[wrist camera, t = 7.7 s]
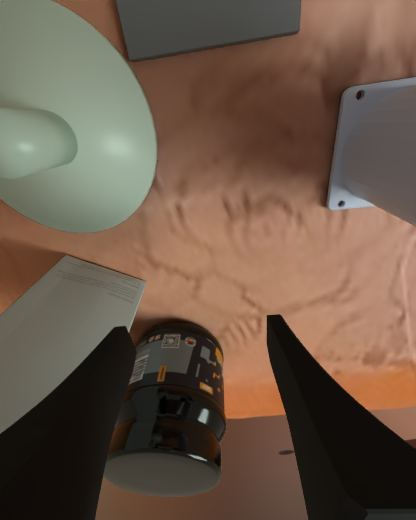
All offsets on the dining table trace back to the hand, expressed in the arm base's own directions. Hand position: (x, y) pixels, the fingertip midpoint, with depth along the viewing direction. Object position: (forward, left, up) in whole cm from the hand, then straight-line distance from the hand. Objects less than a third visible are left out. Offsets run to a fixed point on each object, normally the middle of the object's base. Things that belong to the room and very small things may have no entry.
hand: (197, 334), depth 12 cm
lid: (+7, -10, -6) cm, 13 cm away
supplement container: (+5, +14, -11) cm, 18 cm away
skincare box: (+11, +4, -11) cm, 16 cm away
